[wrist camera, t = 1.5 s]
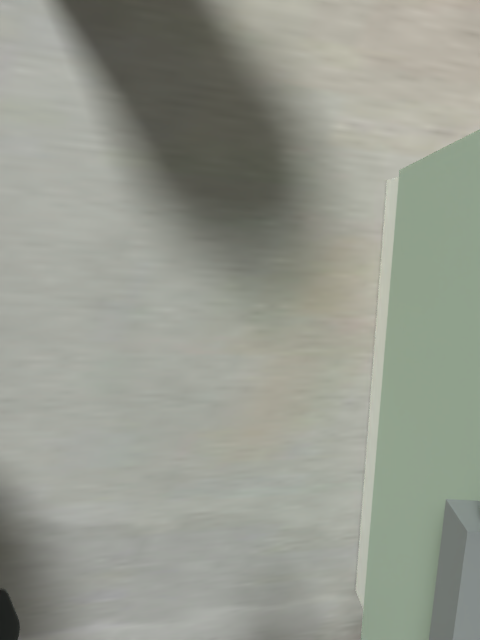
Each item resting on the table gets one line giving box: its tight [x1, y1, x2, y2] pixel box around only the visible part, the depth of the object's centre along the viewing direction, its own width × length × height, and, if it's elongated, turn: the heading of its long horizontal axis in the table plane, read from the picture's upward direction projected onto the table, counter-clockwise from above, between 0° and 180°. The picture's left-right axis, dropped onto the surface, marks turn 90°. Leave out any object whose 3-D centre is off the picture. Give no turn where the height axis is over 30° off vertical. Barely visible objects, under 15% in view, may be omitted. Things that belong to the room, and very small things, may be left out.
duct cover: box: [361, 130, 480, 640], centre depth 13 cm, size 10×22×2 cm
